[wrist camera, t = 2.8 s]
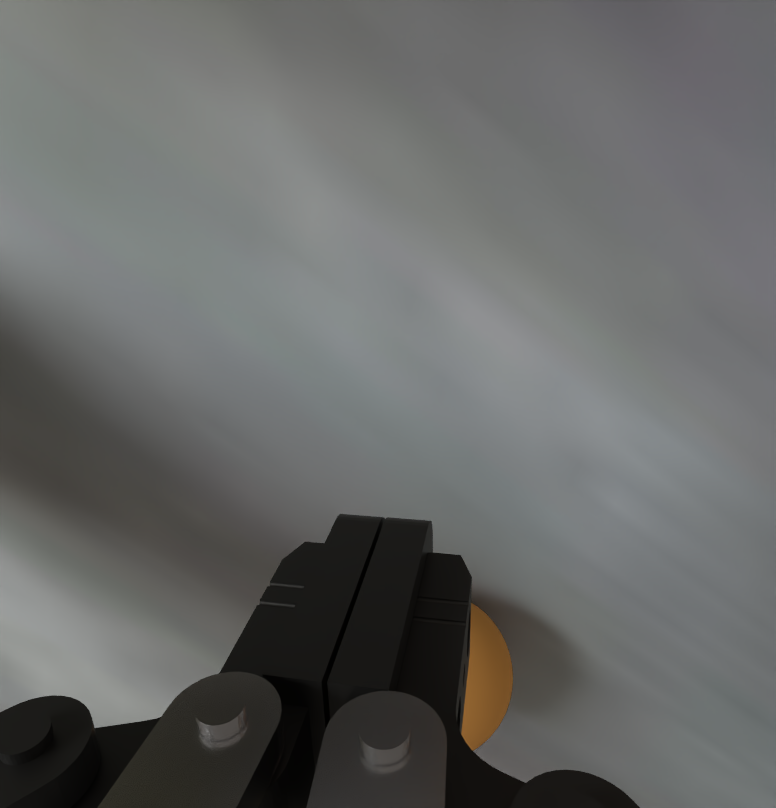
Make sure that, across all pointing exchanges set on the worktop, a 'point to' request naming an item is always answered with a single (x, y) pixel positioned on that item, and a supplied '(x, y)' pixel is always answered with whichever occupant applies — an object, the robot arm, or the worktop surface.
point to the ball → (485, 680)
